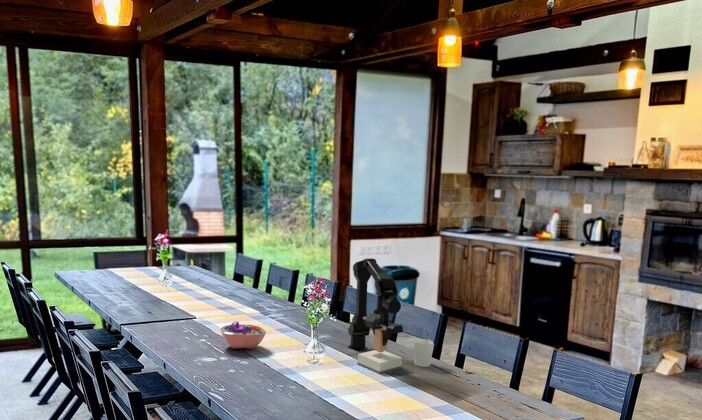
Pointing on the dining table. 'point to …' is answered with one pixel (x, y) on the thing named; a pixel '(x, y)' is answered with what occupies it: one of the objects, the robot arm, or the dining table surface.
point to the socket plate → (379, 361)
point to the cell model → (242, 335)
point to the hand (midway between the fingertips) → (380, 344)
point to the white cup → (422, 352)
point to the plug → (379, 339)
